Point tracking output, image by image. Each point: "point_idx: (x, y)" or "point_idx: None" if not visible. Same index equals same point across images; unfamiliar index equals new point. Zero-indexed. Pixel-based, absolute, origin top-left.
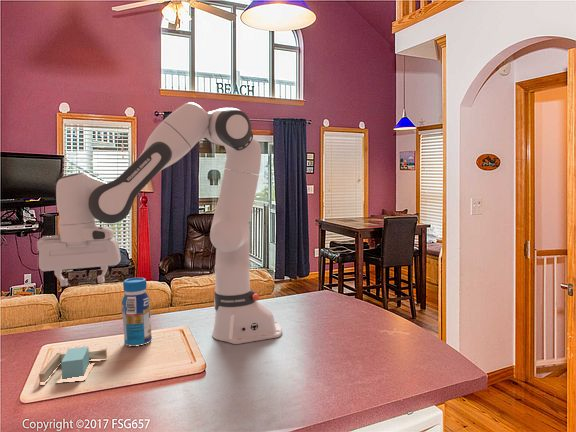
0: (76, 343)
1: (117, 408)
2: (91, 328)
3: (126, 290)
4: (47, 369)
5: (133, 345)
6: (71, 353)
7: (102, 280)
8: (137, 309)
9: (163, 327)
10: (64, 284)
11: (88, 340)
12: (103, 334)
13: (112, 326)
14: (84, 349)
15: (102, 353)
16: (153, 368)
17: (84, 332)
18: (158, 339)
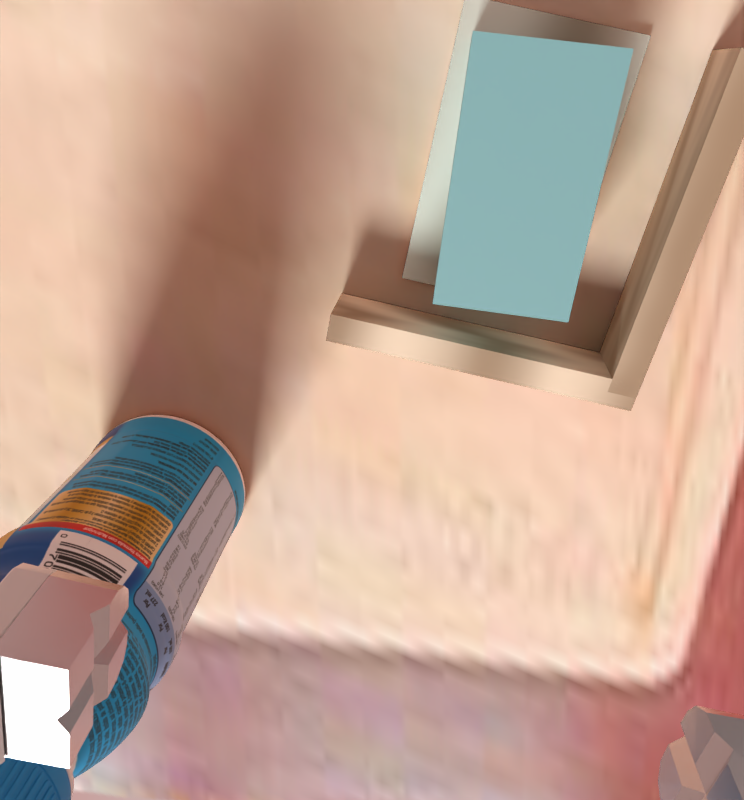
0: (505, 620)
1: None
2: (428, 775)
3: None
4: (712, 127)
5: (189, 423)
6: (550, 211)
7: (14, 580)
8: (34, 556)
9: None
10: (740, 725)
11: (443, 631)
12: (366, 674)
13: (323, 753)
14: (458, 251)
15: (353, 311)
16: (44, 13)
17: (463, 742)
18: (65, 471)
